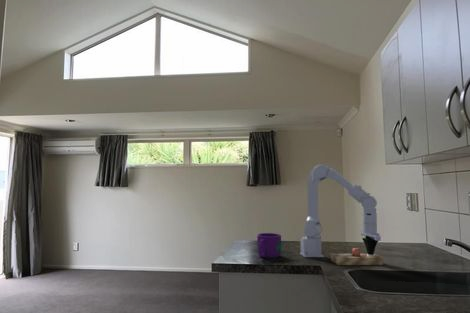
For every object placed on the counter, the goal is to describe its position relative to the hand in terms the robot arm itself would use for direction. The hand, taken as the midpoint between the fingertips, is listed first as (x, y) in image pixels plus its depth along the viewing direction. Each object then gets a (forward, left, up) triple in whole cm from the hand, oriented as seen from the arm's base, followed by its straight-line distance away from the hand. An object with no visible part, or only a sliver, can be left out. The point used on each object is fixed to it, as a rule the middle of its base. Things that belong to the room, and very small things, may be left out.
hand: (370, 254), depth 147 cm
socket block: (-7, 0, -3) cm, 7 cm away
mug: (-45, +12, -4) cm, 46 cm away
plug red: (-7, 0, -1) cm, 7 cm away
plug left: (-13, 0, -3) cm, 13 cm away
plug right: (0, 0, -3) cm, 3 cm away
